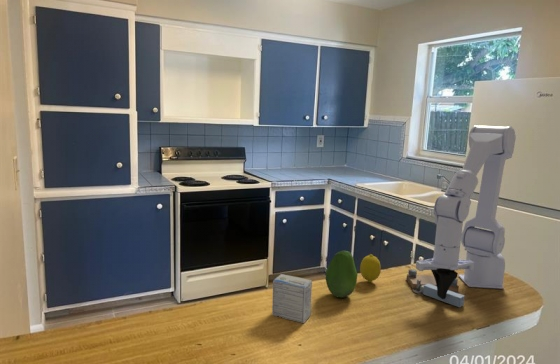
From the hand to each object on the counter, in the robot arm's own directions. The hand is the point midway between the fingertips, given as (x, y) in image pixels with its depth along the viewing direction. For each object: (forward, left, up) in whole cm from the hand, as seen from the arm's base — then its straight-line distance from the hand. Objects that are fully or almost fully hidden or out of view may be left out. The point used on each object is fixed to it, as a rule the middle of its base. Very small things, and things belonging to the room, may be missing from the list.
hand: (441, 297), depth 100 cm
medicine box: (+37, +11, -2) cm, 39 cm away
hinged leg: (-1, -2, -1) cm, 3 cm away
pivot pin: (+4, -6, -2) cm, 8 cm away
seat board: (-1, -11, -2) cm, 11 cm away
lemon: (+16, -11, -2) cm, 19 cm away
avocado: (+25, -1, -2) cm, 25 cm away
